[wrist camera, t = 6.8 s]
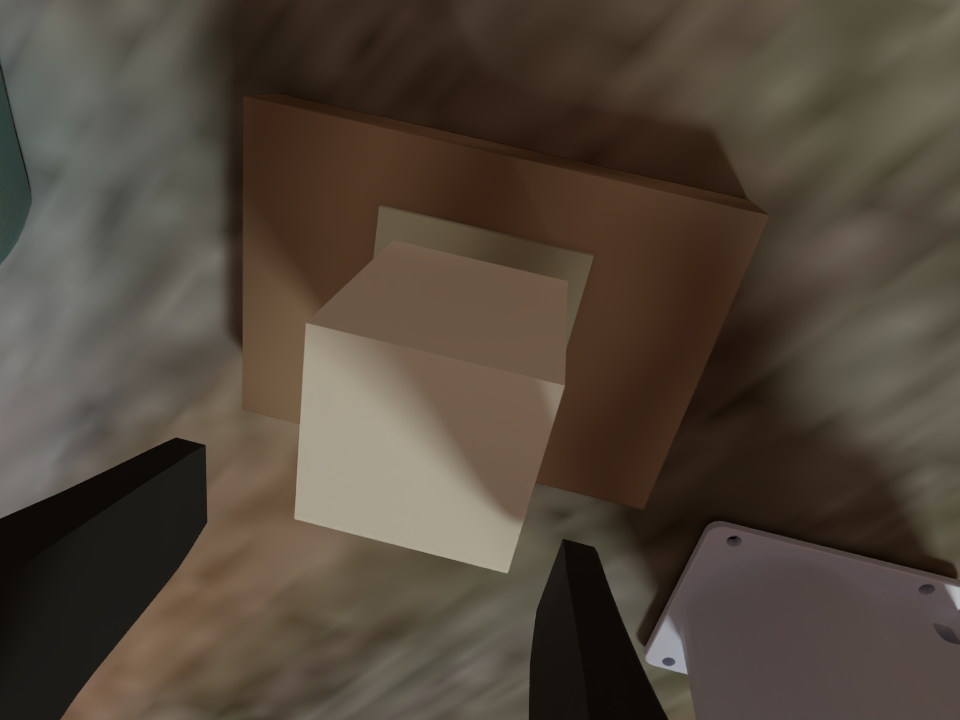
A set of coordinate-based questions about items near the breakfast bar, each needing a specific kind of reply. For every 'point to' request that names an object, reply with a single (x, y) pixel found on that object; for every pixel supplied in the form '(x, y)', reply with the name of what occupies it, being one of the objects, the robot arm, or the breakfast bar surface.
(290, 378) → the walnut base
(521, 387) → the cream block
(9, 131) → the flower pot
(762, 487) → the breakfast bar surface
